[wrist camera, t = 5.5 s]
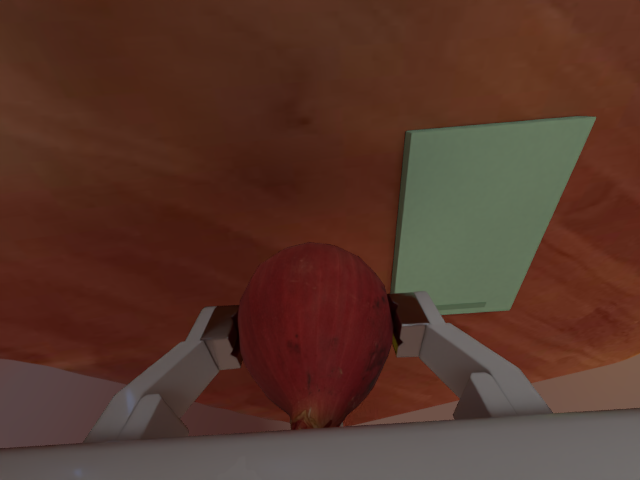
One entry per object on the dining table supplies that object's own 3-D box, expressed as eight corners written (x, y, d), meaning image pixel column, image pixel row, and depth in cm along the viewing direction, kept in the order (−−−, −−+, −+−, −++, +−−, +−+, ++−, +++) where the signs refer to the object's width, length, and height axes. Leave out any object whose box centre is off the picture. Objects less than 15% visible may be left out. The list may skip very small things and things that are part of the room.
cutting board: (405, 130, 21) (412, 132, 19) (579, 116, 21) (598, 116, 19) (388, 309, 32) (392, 319, 30) (501, 301, 31) (510, 311, 30)
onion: (382, 219, 11) (489, 403, 5) (356, 304, 14) (396, 494, 7) (260, 204, 11) (169, 387, 4) (258, 295, 14) (204, 493, 7)
